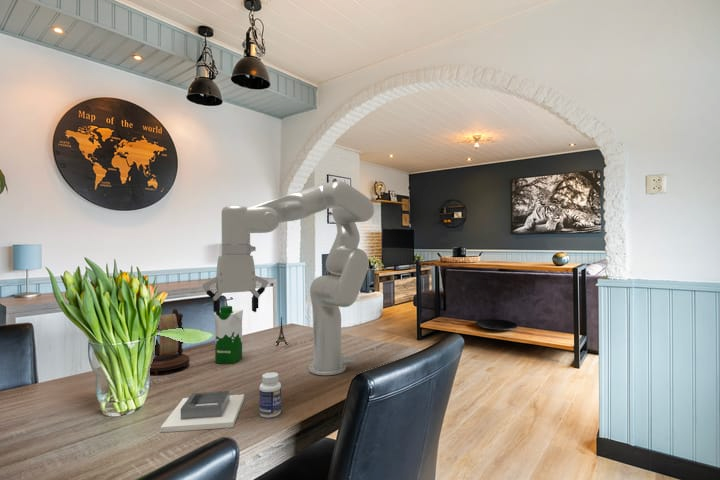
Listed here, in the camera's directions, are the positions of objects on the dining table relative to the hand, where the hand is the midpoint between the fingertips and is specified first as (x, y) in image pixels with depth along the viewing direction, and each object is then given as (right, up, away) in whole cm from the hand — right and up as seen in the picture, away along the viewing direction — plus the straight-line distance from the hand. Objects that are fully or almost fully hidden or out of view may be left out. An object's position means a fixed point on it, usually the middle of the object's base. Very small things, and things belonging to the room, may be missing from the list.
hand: (236, 312), depth 104 cm
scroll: (-33, -24, +26) cm, 48 cm away
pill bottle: (+11, -24, -9) cm, 28 cm away
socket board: (-5, -24, -9) cm, 26 cm away
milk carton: (-14, -24, +33) cm, 43 cm away
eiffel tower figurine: (+2, -25, +54) cm, 59 cm away
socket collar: (-5, -23, -9) cm, 25 cm away
